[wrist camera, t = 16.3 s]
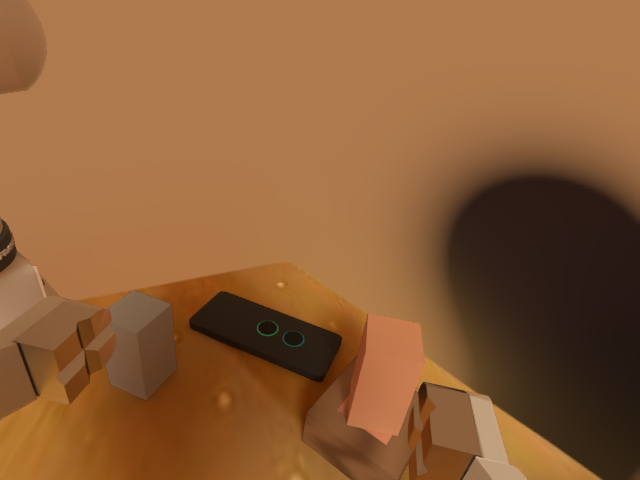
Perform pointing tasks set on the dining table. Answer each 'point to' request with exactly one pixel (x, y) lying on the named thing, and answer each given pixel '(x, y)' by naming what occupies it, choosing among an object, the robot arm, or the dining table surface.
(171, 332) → the grey block
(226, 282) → the dining table surface
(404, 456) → the walnut base block
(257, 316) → the smart home device
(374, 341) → the terracotta block
